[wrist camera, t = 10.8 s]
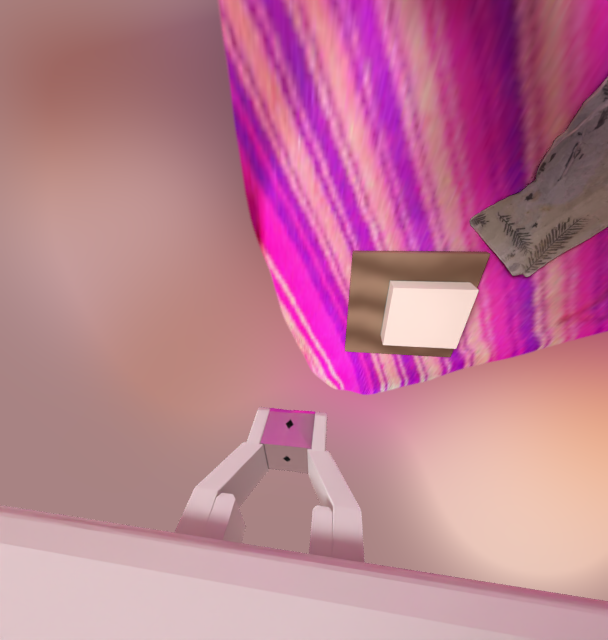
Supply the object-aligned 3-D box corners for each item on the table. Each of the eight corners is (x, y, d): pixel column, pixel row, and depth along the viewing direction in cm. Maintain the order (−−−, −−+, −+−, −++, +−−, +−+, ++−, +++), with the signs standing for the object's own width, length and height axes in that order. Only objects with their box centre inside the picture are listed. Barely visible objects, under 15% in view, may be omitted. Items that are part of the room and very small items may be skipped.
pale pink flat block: (393, 287, 33) (479, 290, 32) (389, 279, 36) (469, 281, 34) (382, 345, 39) (455, 348, 37) (380, 334, 41) (449, 338, 40)
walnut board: (352, 250, 35) (353, 252, 34) (486, 251, 33) (490, 254, 32) (344, 347, 45) (345, 351, 44) (448, 353, 43) (450, 357, 42)
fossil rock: (512, 279, 35) (522, 286, 33) (453, 203, 31) (460, 206, 29) (680, 174, 27) (707, 175, 25) (629, 51, 23) (657, 40, 21)
